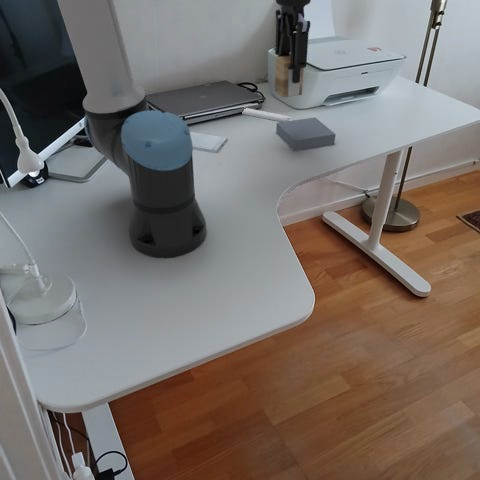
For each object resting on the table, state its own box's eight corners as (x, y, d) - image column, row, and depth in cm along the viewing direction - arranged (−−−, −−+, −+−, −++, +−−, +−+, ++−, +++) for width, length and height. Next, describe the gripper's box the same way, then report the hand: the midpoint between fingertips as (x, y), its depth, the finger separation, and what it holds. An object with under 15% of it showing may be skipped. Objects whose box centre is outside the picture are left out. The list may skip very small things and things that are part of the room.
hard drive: (173, 142, 120) (216, 149, 117) (186, 130, 127) (227, 136, 123) (174, 148, 121) (217, 155, 118) (186, 136, 128) (227, 142, 124)
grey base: (293, 151, 119) (294, 140, 117) (276, 132, 128) (276, 122, 126) (334, 144, 122) (335, 134, 120) (314, 127, 131) (315, 117, 129)
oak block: (282, 97, 108) (284, 63, 103) (274, 90, 111) (275, 57, 107) (301, 94, 109) (304, 60, 104) (293, 88, 113) (295, 54, 108)
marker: (294, 123, 134) (295, 115, 133) (291, 125, 133) (292, 117, 131) (240, 112, 141) (240, 104, 139) (237, 114, 139) (237, 107, 138)
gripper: (330, -11, 90) (318, 102, 104) (292, -25, 103) (287, 77, 118) (295, -8, 88) (289, 107, 102) (262, -23, 101) (260, 81, 116)
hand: (288, 91), depth 110 cm, fingers closed on oak block, 5 cm apart
